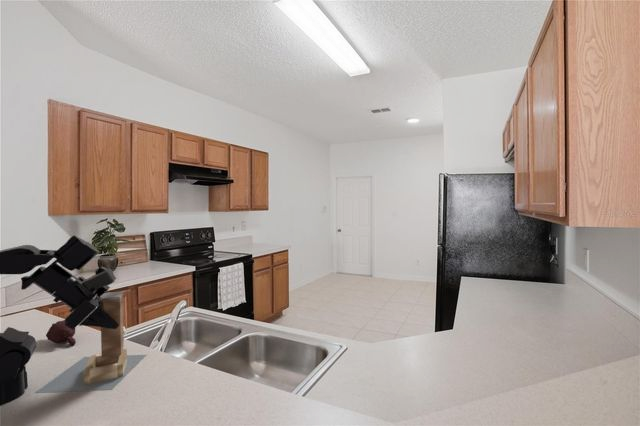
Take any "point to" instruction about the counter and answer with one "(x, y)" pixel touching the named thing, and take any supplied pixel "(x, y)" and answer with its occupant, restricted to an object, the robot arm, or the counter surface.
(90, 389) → the board
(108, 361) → the socket
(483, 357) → the counter surface
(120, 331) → the post
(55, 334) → the maroon bulbous piece
